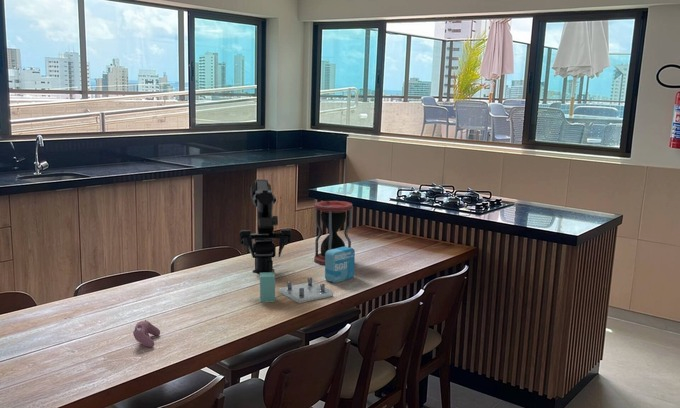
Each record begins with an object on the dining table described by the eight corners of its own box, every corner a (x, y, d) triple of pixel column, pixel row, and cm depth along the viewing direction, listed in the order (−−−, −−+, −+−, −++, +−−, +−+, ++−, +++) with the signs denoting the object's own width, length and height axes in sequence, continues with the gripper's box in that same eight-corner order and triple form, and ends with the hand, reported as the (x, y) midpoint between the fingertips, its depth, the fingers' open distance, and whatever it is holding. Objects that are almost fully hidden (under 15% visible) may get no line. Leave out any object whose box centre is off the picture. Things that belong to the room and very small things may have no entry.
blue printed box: (333, 283, 230) (333, 253, 228) (324, 281, 233) (324, 250, 231) (354, 277, 238) (355, 247, 236) (346, 274, 242) (346, 245, 239)
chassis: (279, 292, 219) (279, 281, 219) (312, 285, 227) (312, 275, 226) (298, 303, 208) (298, 291, 207) (332, 296, 216) (333, 285, 215)
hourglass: (354, 257, 268) (355, 201, 264) (348, 267, 252) (349, 207, 248) (318, 254, 271) (318, 199, 266) (310, 264, 255) (310, 206, 251)
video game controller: (148, 339, 180) (136, 319, 178) (162, 332, 180) (150, 313, 178) (140, 353, 170) (127, 332, 168) (155, 346, 170) (142, 325, 168)
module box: (260, 297, 214) (259, 272, 212) (274, 296, 214) (274, 272, 213) (260, 302, 209) (260, 276, 207) (275, 301, 209) (274, 276, 208)
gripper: (239, 208, 218) (239, 246, 209) (291, 207, 221) (293, 244, 212) (239, 225, 227) (240, 262, 218) (289, 224, 230) (292, 260, 221)
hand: (266, 256), depth 217 cm, fingers open, 9 cm apart
